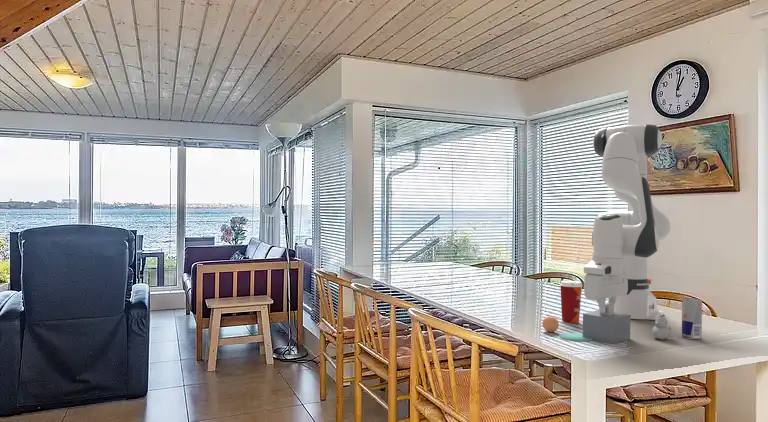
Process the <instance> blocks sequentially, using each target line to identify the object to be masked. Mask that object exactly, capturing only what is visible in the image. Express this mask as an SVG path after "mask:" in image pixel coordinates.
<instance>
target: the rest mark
mask: <svg viewBox="0 0 768 422" xmlns="http://www.w3.org/2000/svg"><path fill="white" fill-rule="evenodd" d="M558 337H559V338H561V339H563V340H566V341H571V342H585V343H586V342H591V341H595V340H594V339H592V338H587V337H583V333H579V332H578V333H577V332H563V333H560V334H558Z"/></svg>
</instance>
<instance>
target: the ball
mask: <svg viewBox="0 0 768 422" xmlns="http://www.w3.org/2000/svg"><path fill="white" fill-rule="evenodd" d="M541 325H542V327H543V329H544V330H545V331H546V332H549V333H554V332H556V331H557V330H558V329H559V326H560V324H559V321H558V319H557V318H556V317H554V316H550V315H549V316H546V317H545V318H544V319H543V320H542V324H541Z"/></svg>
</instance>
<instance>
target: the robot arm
mask: <svg viewBox="0 0 768 422" xmlns="http://www.w3.org/2000/svg"><path fill="white" fill-rule="evenodd" d="M592 139H593V140H592V146H593V149H594V152H595V154H597V156H599V157H602V163H601V178H602V181H603V182H604V183H605V185H606V186H608V187H609V188H610V189H611V190H613V191H614V195H615V197H616V198H617V200H621V201H622V202H624V203H626V204H628V205H630V206H631V208H632V210H631V211H629V210H627V211H626V210H611V211H605V212H599V213H598V214H597V215H596V216H595V218H594V222H593V228H592V235H591V236H592V237H591V245H592V247H593V251H592V257H591V258H592V260H590V261H589V262H588V263H587V264H586V265H584V266H583V273H584V274H585V275H584V279H583V280H584V281H583V282H584V283H583V285H584V286H583V290H584V296H585V298H586V300H590V301H592V300H593V301H596V303H597V305H598V310H599V312H600V313H606V312H607V307H606V305H605V303H610V304H614V312H615V313H621V314H627V315H631V320H653V321H656V319H657V318H658V316H660V314H661V316H662V317H663V316H664V315H665V311H664V310H660V309H659V310H658V299H657V297H656V296H655V295H654V293H652V292H651V290H650V285H651V284H652V281H653V280H652V279H651V278H647V277H648V276H647V275H648V274H647V273H648V270H647V269H648V267H647V266H648V260H647V258H649V257H650V256H652V255H654V254H655V253H657V252H658V250H659V247H660V241H661V240H664V239H666V238H667V237H668V235H669V234H670V232H671V222H670V219H669V218H668V216H666V214H665V213H663V212H661V211H660V210H659V209H658V208H657V207H656V206H655V205H654V203H653V201H652V195H651V189H650V185H649V182H648V162H647V158H651V156H653V155H654V154H656V153H657V152H659V150H660V148H661V146H662V143H663V135H662V133H661V131H660V127H658V126H657V125H656V124H650V123H649V124H648V123H647V124H626V125H620V126H619V125H618V126H613V127H603V128H600V129H598V130H597V131H596V132H595V133H594V137H593V138H592ZM607 299H608V302H607Z"/></svg>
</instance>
